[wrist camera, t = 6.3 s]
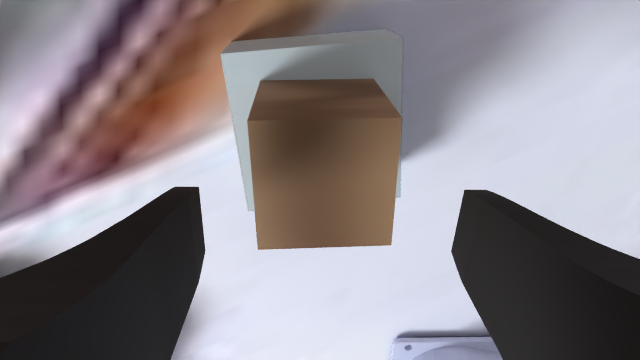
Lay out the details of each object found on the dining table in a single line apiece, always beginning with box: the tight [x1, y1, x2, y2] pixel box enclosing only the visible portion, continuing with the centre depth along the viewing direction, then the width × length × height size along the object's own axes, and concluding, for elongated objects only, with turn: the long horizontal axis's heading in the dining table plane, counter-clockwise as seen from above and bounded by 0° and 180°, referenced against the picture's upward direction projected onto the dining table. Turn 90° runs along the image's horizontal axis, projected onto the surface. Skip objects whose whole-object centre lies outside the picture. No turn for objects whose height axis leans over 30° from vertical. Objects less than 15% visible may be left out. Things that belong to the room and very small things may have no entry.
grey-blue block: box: [221, 28, 403, 211], centre depth 19 cm, size 7×7×4 cm
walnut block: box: [247, 79, 402, 250], centre depth 15 cm, size 4×4×5 cm
